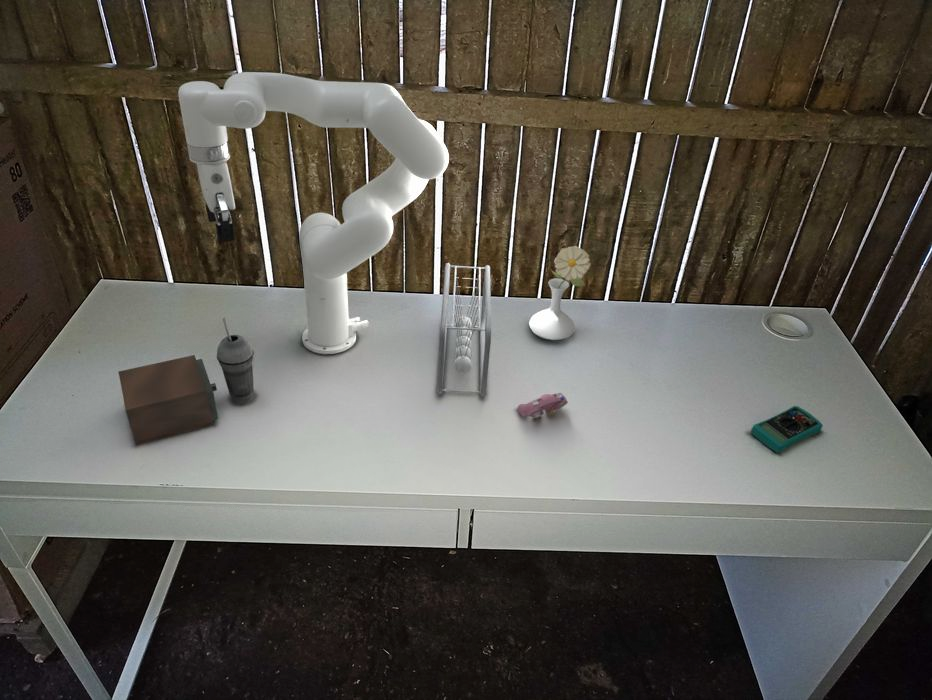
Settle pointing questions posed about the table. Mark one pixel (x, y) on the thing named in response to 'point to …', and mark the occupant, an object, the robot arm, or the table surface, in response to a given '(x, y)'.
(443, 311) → the newton's cradle
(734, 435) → the table surface
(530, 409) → the pink toy car
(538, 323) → the flower in vase
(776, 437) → the digital multimeter
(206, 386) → the drawer
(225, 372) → the beverage cup
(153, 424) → the cabinet
